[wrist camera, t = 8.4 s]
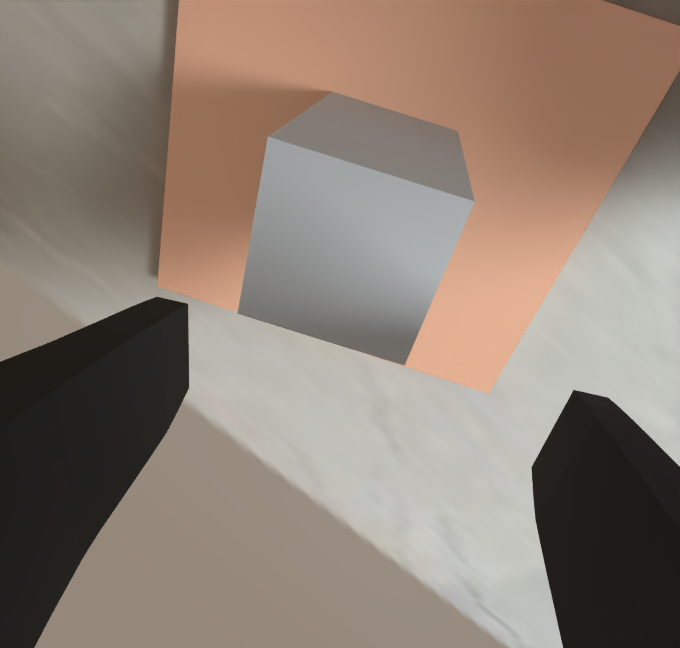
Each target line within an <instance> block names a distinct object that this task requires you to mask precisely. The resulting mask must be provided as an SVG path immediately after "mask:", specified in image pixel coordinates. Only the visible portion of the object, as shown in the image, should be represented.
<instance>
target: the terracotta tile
mask: <svg viewBox="0 0 680 648" xmlns="http://www.w3.org/2000/svg"><path fill="white" fill-rule="evenodd" d="M679 71H680V26H679V25H676V24H673V23H670V22H667V21H664V20H661V19H658V18H655V17H652V16H649V15H646V14H643V13H639V12H636V11H633V10H630V9H627V8H624V7H621V6H618V5H615V4H612V3H609V2H606V1H603V0H179V7H178V20H177V33H176V46H175V60H174V73H173V86H172V99H171V112H170V126H169V139H168V152H167V165H166V178H165V192H164V205H163V218H162V231H161V244H160V258H159V271H158V284H157V286H158V287H161V288H164V289H167V290H170V291H173V292H176V293H179V294H183V295H186V296H189V297H192V298H195V299H198V300H201V301H204V302H207V303H210V304H213V305H217V306H220V307H223V308H226V309H229V310H232V311H235V312H238V307H239V301H240V296H241V290H242V284H243V278H244V272H245V266H246V261H247V255H248V249H249V243H250V237H251V232H252V226H253V220H254V214H255V208H256V202H257V197H258V191H259V185H260V179H261V173H262V168H263V162H264V156H265V150H266V144H267V138H268V136H269V135H271V134H272V133H274V132H275V131H277V130H278V129H280V128H281V127H282V126H284V125H285V124H287V123H288V122H290V121H291V120H292V119H294V118H295V117H297V116H298V115H300V114H301V113H303V112H304V111H305V110H307V109H308V108H310V107H311V106H313V105H314V104H315V103H317V102H318V101H320V100H321V99H323V98H324V97H326V96H327V95H328V94H330V93H331V92H335V93H338V94H342V95H345V96H348V97H351V98H354V99H358V100H361V101H364V102H367V103H370V104H374V105H377V106H380V107H383V108H386V109H389V110H393V111H396V112H399V113H402V114H405V115H409V116H412V117H415V118H418V119H421V120H424V121H428V122H431V123H434V124H437V125H440V126H444V127H447V128H450V129H453V130H456V131H458V133H459V138H460V142H461V146H462V150H463V154H464V158H465V163H466V167H467V171H468V175H469V179H470V183H471V188H472V192H473V196H474V200H475V202H474V205H473V207H472V209H471V212H470V214H469V216H468V219H467V221H466V223H465V226H464V228H463V230H462V233H461V235H460V237H459V240H458V242H457V244H456V247H455V249H454V251H453V254H452V256H451V258H450V261H449V263H448V265H447V268H446V270H445V272H444V275H443V277H442V279H441V282H440V284H439V286H438V289H437V291H436V293H435V296H434V298H433V300H432V303H431V305H430V307H429V310H428V312H427V314H426V317H425V319H424V322H423V324H422V326H421V329H420V331H419V333H418V336H417V338H416V340H415V343H414V345H413V347H412V350H411V352H410V354H409V357H408V359H407V361H406V364H405V367H408V368H412V369H415V370H418V371H421V372H424V373H427V374H430V375H433V376H436V377H439V378H443V379H446V380H449V381H452V382H455V383H458V384H461V385H464V386H467V387H470V388H473V389H477V390H480V391H483V392H486V393H489V392H490V390H491V388H492V387H493V385H494V383H495V382H496V380H497V378H498V376H499V375H500V373H501V371H502V370H503V368H504V366H505V365H506V363H507V361H508V360H509V358H510V356H511V355H512V353H513V351H514V349H515V348H516V346H517V344H518V343H519V341H520V339H521V338H522V336H523V334H524V333H525V331H526V329H527V328H528V326H529V324H530V322H531V321H532V319H533V317H534V316H535V314H536V312H537V311H538V309H539V307H540V306H541V304H542V302H543V301H544V299H545V297H546V295H547V294H548V292H549V290H550V289H551V287H552V285H553V284H554V282H555V280H556V279H557V277H558V275H559V273H560V272H561V270H562V268H563V267H564V265H565V263H566V262H567V260H568V258H569V257H570V255H571V253H572V252H573V250H574V248H575V246H576V245H577V243H578V241H579V240H580V238H581V236H582V235H583V233H584V231H585V230H586V228H587V226H588V225H589V223H590V221H591V219H592V218H593V216H594V214H595V213H596V211H597V209H598V208H599V206H600V204H601V203H602V201H603V199H604V198H605V196H606V194H607V192H608V191H609V189H610V187H611V186H612V184H613V182H614V181H615V179H616V177H617V176H618V174H619V172H620V170H621V169H622V167H623V165H624V164H625V162H626V160H627V159H628V157H629V155H630V154H631V152H632V150H633V149H634V147H635V145H636V143H637V142H638V140H639V138H640V137H641V135H642V133H643V132H644V130H645V128H646V127H647V125H648V123H649V122H650V120H651V118H652V116H653V115H654V113H655V111H656V110H657V108H658V106H659V105H660V103H661V101H662V100H663V98H664V96H665V95H666V93H667V91H668V89H669V88H670V86H671V84H672V83H673V81H674V79H675V78H676V76H677V74H678V73H679ZM362 353H363V352H362ZM365 354H366V353H365ZM368 355H369V354H368ZM371 356H372V355H371ZM374 357H376V356H374ZM378 358H379V357H378ZM381 359H382V358H381ZM384 360H385V359H384ZM387 361H388V360H387ZM390 362H392V361H390ZM393 363H395V362H393ZM396 364H398V363H396ZM399 365H401V364H399ZM402 366H404V365H402Z"/></svg>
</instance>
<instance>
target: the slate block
mask: <svg viewBox="0 0 680 648" xmlns="http://www.w3.org/2000/svg"><path fill="white" fill-rule="evenodd" d="M474 202H475V200H474V196H473V192H472V188H471V183H470V179H469V175H468V171H467V167H466V163H465V158H464V154H463V150H462V146H461V142H460V138H459V133H458V131H456V130H453V129H450V128H447V127H444V126H440V125H437V124H434V123H431V122H428V121H424V120H421V119H418V118H415V117H412V116H409V115H405V114H402V113H399V112H396V111H393V110H389V109H386V108H383V107H380V106H377V105H374V104H370V103H367V102H364V101H361V100H358V99H354V98H351V97H348V96H345V95H342V94H338V93H335V92H331V93H330V94H328V95H327V96H326V97H324V98H323V99H321V100H320V101H318V102H317V103H315V104H314V105H313V106H311V107H310V108H308V109H307V110H305V111H304V112H303V113H301V114H300V115H298V116H297V117H295V118H294V119H292V120H291V121H290V122H288V123H287V124H285V125H284V126H282V127H281V128H280V129H278V130H277V131H275V132H274V133H272V134H271V135H269V136H268V138H267V144H266V150H265V156H264V162H263V168H262V173H261V179H260V185H259V191H258V197H257V202H256V208H255V214H254V220H253V226H252V232H251V237H250V243H249V249H248V255H247V261H246V266H245V272H244V278H243V284H242V290H241V296H240V301H239V307H238V314H241V315H244V316H247V317H250V318H254V319H257V320H260V321H263V322H266V323H270V324H273V325H276V326H279V327H282V328H286V329H289V330H292V331H295V332H299V333H302V334H305V335H308V336H311V337H315V338H318V339H321V340H324V341H327V342H331V343H334V344H337V345H340V346H343V347H347V348H350V349H353V350H356V351H359V352H363V353H366V354H369V355H372V356H376V357H379V358H382V359H385V360H388V361H392V362H395V363H398V364H401V365H404V366H405V364H406V361H407V359H408V357H409V354H410V352H411V350H412V347H413V345H414V343H415V340H416V338H417V336H418V333H419V331H420V329H421V326H422V324H423V322H424V319H425V317H426V314H427V312H428V310H429V307H430V305H431V303H432V300H433V298H434V296H435V293H436V291H437V289H438V286H439V284H440V282H441V279H442V277H443V275H444V272H445V270H446V268H447V265H448V263H449V261H450V258H451V256H452V254H453V251H454V249H455V247H456V244H457V242H458V240H459V237H460V235H461V233H462V230H463V228H464V226H465V223H466V221H467V219H468V216H469V214H470V212H471V209H472V207H473V205H474Z"/></svg>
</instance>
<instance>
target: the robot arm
mask: <svg viewBox="0 0 680 648" xmlns="http://www.w3.org/2000/svg"><path fill="white" fill-rule="evenodd" d="M188 389H189V344H188V304H186V303H182V302H177V301H173V300H168V299H164V298H159V297H155V298H153V299H150V300H147V301H144V302H142V303H139V304H137V305H135V306H132V307H130V308H128V309H125V310H123V311H121V312H118V313H116V314H114V315H112V316H109V317H107V318H105V319H103V320H100V321H98V322H96V323H93V324H91V325H89V326H87V327H84V328H82V329H80V330H77V331H75V332H73V333H70V334H68V335H66V336H64V337H61V338H59V339H57V340H54V341H52V342H50V343H47V344H45V345H42V346H39V347H37V348H34V349H32V350H29V351H27V352H24V353H22V354H19V355H17V356H14V357H12V358H9V359H6V360H4V361H1V362H0V648H34V647H35V645H36V643H37V641H38V639H39V637H40V636H41V634H42V632H43V629H44V628H45V626H46V624H47V622H48V620H49V618H50V616H51V615H52V613H53V611H54V609H55V607H56V606H57V604H58V602H59V600H60V598H61V596H62V595H63V593H64V591H65V589H66V587H67V586H68V584H69V582H70V580H71V578H72V577H73V575H74V573H75V571H76V569H77V567H78V566H79V564H80V562H81V560H82V558H83V557H84V555H85V554H86V552H87V550H88V548H89V547H90V546H91V544H92V542H93V541H94V539H95V538H96V536H97V534H98V533H99V531H100V530H101V528H102V527H103V526H104V524H105V523H106V521H107V519H108V518H109V517H110V515H111V514H112V512H113V511H114V509H115V508H116V507H117V505H118V504H119V502H120V501H121V499H122V498H123V496H124V495H125V493H126V492H127V490H128V489H129V487H130V486H131V485H132V483H133V482H134V480H135V479H136V477H137V476H138V474H139V473H140V471H141V470H142V468H143V467H144V465H145V464H146V462H147V461H148V459H149V458H150V457H151V455H152V454H153V452H154V451H155V449H156V447H157V446H158V445H159V443H160V442H161V440H162V439H163V437H164V436H165V434H166V432H167V430H168V429H169V427H170V425H171V423H172V421H173V419H174V417H175V415H176V413H177V412H178V409H179V407H180V405H181V403H182V401H183V399H184V397H185V395H186V393H187V391H188ZM532 481H533V497H534V508H535V518H536V524H537V529H538V534H539V539H540V543H541V548H542V553H543V558H544V562H545V567H546V572H547V576H548V581H549V585H550V590H551V594H552V599H553V603H554V608H555V613H556V617H557V622H558V626H559V631H560V635H561V640H562V644H563V648H680V467H679V466H678V465H677V464H676V463H675V462H674V461H673V460H672V459H671V458H670V457H669V456H668V455H667V454H666V453H665V452H664V451H663V450H662V449H661V448H660V447H659V446H658V445H657V444H656V443H655V442H654V441H653V440H652V439H651V438H650V437H649V436H648V435H647V434H646V433H645V432H644V431H643V430H642V429H641V428H640V427H639V426H638V425H637V424H636V423H635V422H634V421H633V420H632V419H631V418H630V417H629V416H628V415H627V414H626V413H625V412H624V411H623V410H622V409H620V408H619V407H618V406H617V405H616V404H615V403H614V402H612V401H611V400H610V399H609V398H607V397H602V396H598V395H593V394H589V393H585V392H580V391H576V390H574V391H573V392H572V394H571V396H570V398H569V400H568V402H567V403H566V405H565V407H564V409H563V411H562V413H561V414H560V416H559V418H558V420H557V422H556V424H555V425H554V427H553V429H552V431H551V433H550V435H549V436H548V438H547V440H546V442H545V444H544V446H543V447H542V449H541V451H540V453H539V455H538V457H537V458H536V460H535V462H534V464H533V466H532Z"/></svg>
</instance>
